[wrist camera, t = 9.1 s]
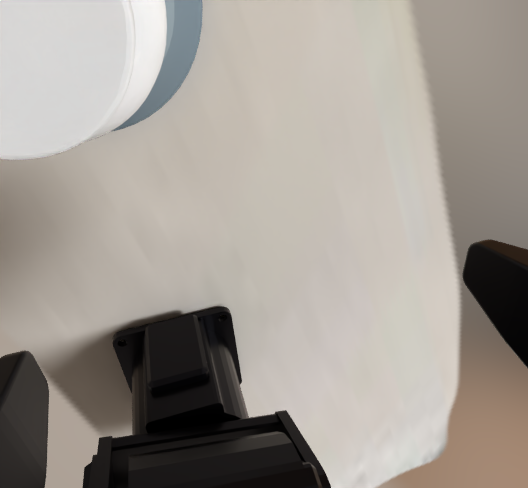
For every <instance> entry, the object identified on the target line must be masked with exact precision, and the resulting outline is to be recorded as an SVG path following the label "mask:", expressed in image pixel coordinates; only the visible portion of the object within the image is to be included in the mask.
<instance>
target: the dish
mask: <svg viewBox="0 0 528 488" xmlns="http://www.w3.org/2000/svg"><path fill="white" fill-rule="evenodd" d="M165 6H166V17H167V36H166V47H165V54H164V58H163V62H162V66H161V69H160V72H159V74H158V76H157V79H156V81H155V83H154V85H153V87H152V89H151V91H150V93H149V95H148V96H147V98H146V100H145V101H144V102H143V104H142V105H141V106H140V108H139V109H138V110H137V111H136V112H135V113H134V114H133V115H132V116H131V117H130V118H129V119H127V120H126V121H125V122H124V123H123V124H121V125H120V126H119V127H117V128H115V129H114V130H112V131H115V130H120V129H123V128H126V127H128V126H131V125H134V124H136V123H138V122H140V121H142V120H144V119H146V118H147V117H149V116H150V115H152V114H153V113H155V112H156V111H157V110H159V109H160V108H161V107H162V106H163V105H164V104H165V103H166V102H168V101H169V100H170V99H171V98H172V96H173V95H174V94H175V93H176V91H177V90H178V89H179V87H180V86H181V84H182V83H183V81H184V79H185V78H186V76H187V74H188V73H189V70H190V68H191V65H192V63H193V61H194V58H195V55H196V51H197V48H198V44H199V40H200V33H201V27H202V0H165ZM110 132H111V131H110Z"/></svg>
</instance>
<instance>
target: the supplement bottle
mask: <svg viewBox="0 0 528 488" xmlns="http://www.w3.org/2000/svg"><path fill="white" fill-rule="evenodd" d="M166 36H167V17H166V6H165V0H0V160H30V159H37V158H43V157H48V156H52V155H55V154H59V153H62V152H65V151H67V150H70V149H72V148H74V147H76V146H78V145H80V144H82V143H83V142H86V141H90V140H92V139H95V138H98V137H100V136H103V135H105V134H107V133H109V132H110V131H112V130H114V129H115V128H117V127H119V126H120V125H121V124H123V123H124V122H125V121H126V120H127V119H129V118H130V117H131V116H132V115H133V114H134V113H135V112H136V111H137V110H138V109H139V108H140V106H141V105H142V104H143V102H144V101H145V100H146V98H147V96H148V95H149V93H150V91H151V89H152V87H153V85H154V83H155V81H156V79H157V76H158V74H159V72H160V69H161V66H162V62H163V58H164V54H165V47H166Z"/></svg>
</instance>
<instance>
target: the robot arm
mask: <svg viewBox="0 0 528 488" xmlns="http://www.w3.org/2000/svg"><path fill="white" fill-rule="evenodd" d="M463 280H464V283H465V285H466V286H467V288H468V289H469V291H470V292H471V293H472V295H473V296H474V298H475V299H476V301H477V302H478V304H479V305H480V306H481V308H482V309H483V311H484V312H485V314H486V315H487V316H488V318H489V319H490V321H491V322H492V324H493V325H494V327H495V328H496V329H497V331H498V332H499V334H500V335H501V336H502V338H503V339H504V340H505V342H506V343H507V344H508V345H509V347H510V348H511V349H512V350H513V352H514V353H515V354H516V355H517V356H518V357H519V358H520V360H521V361H522V362H523V363H524V365H525V366H526V367H527V368H528V250H527V249H524V248H520V247H516V246H513V245H509V244H506V243H502V242H498V241H495V240H483V241H479V242H475V243H473V244H471V245H470V247H469V248H468V252H467V256H466V261H465V265H464V269H463ZM221 315H225V316H223V317H219V316H221ZM120 340H126V341H120ZM113 347H114V349H115V352H116V354H117V357H118V359H119V362H120V365H121V367H122V370H123V372H124V375H125V377H126V380H127V382H128V385H129V388H130V390H131V393H132V435H130V436H123V437H117V438H112V436H109V437H102V438H99V445H98V452H97V455H93V458H92V462H91V463H90V464H88V465H87V466H86V467H85V469H84V479H83V488H331V486H330V483H329V481H328V478H327V476H326V473H325V472H324V470H323V468H322V466H321V464H320V463H319V461H318V460H317V458H316V456H315V455H314V453H313V452H312V450H311V449H310V447H309V445H308V444H307V442H306V441H305V439H304V438H303V436H302V434H301V433H300V431H299V430H298V428H297V426H296V425H295V423H294V422H293V420H292V419H291V417H290V415H289V414H288V412H287V411H286V410H285V411H278V412H275V414H271V415H264V416H258V417H251V418H249V416H248V413H247V409H246V406H245V402H244V399H243V395H242V391H241V388H240V384H241V382H242V378H241V372H240V366H239V360H238V354H237V348H236V341H235V335H234V329H233V323H232V317H231V313H230V311H229V309H228V308H226V307H219V308H215V309H210V310H206V311H202V312H198V313H194V314H190V315H186V316H182V317H177V318H173V319H169V320H165V321H161V322H157V323H153V324H149V325H144V326H140V327H136V328H132V329H128V330H124V331H120V332H117V333H116V334H115V335H114V337H113ZM48 404H49V389H48V383H47V380H46V378H45V377H44V375H43V373H42V371H41V369H40V367H39V366H38V364H37V362H36V360H35V358H34V357H33V355H32V354H31V353H30V352H29V351H20V352H16V353H12V354H8V355H5V356H3V357H1V358H0V488H44V487H45V479H46V466H47V438H48Z"/></svg>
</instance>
